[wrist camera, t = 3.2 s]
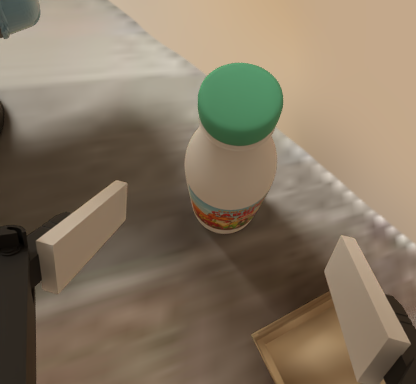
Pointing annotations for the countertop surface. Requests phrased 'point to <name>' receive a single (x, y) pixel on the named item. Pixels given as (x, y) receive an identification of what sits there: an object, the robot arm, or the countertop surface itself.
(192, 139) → the milk bottle
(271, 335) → the wooden tray
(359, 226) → the countertop surface
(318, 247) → the countertop surface
